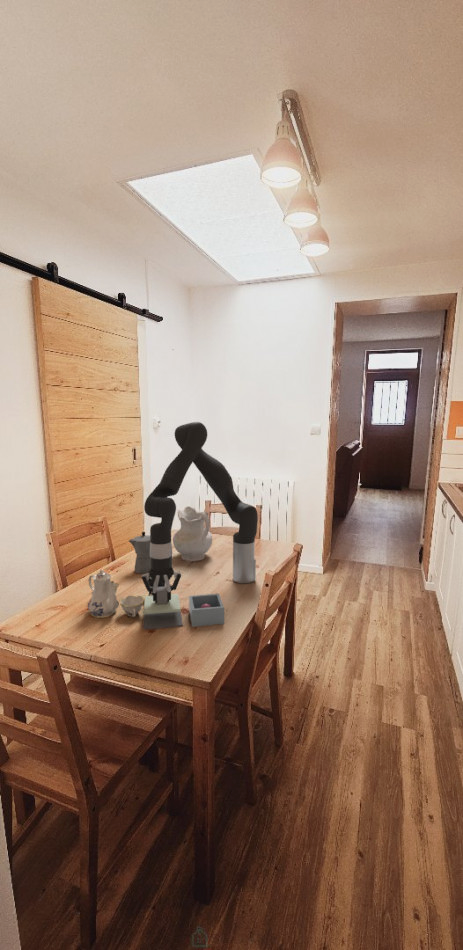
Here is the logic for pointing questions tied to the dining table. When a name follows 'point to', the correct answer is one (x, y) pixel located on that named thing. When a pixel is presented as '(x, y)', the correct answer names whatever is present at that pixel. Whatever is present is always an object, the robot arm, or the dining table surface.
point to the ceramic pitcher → (192, 534)
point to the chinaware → (110, 598)
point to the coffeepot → (142, 553)
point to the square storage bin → (206, 610)
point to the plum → (205, 606)
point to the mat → (162, 620)
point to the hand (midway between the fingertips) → (162, 601)
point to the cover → (162, 602)
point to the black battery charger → (153, 584)
